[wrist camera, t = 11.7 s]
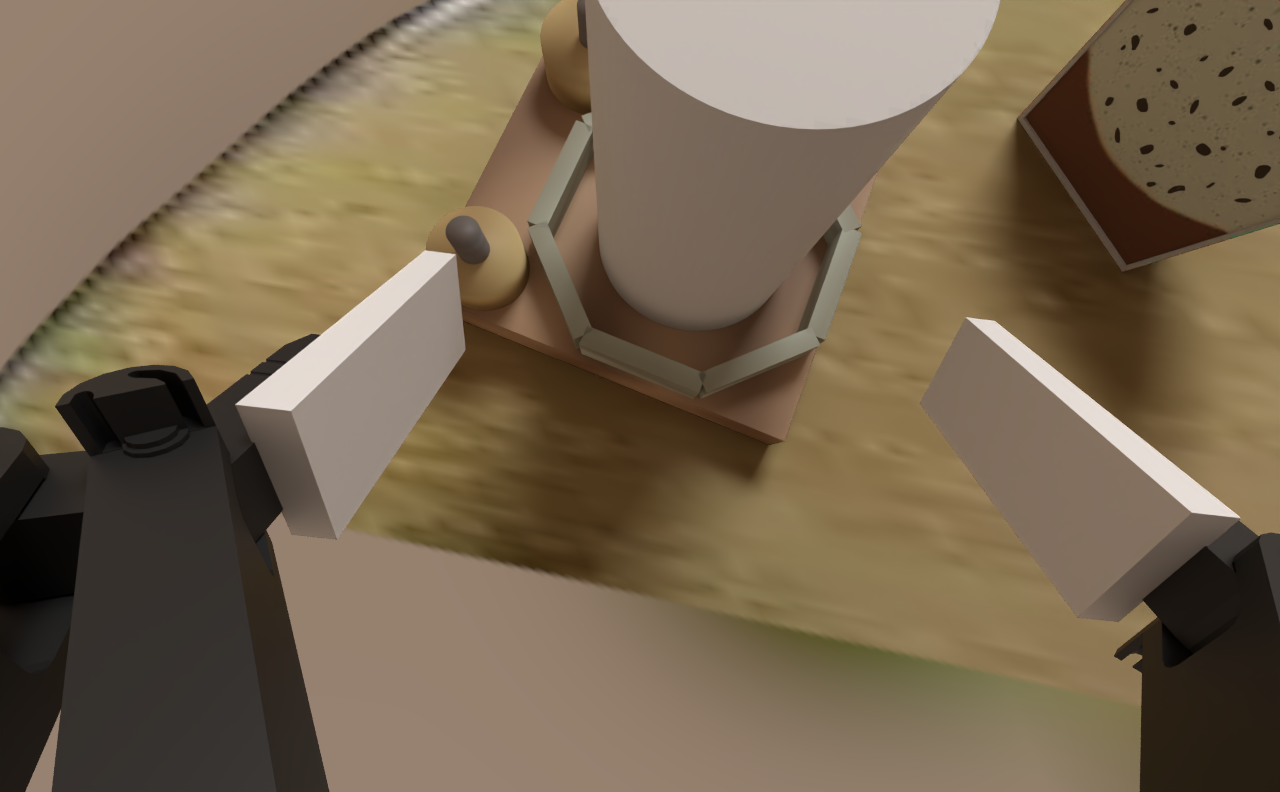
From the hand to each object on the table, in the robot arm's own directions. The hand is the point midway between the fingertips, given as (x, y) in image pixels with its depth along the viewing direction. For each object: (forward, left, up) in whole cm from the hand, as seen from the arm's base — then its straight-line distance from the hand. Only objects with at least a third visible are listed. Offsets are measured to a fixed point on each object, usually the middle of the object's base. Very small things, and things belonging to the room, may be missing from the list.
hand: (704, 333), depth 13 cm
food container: (-17, -20, -9) cm, 27 cm away
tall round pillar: (+1, -6, -7) cm, 10 cm away
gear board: (+3, -7, -9) cm, 12 cm away
